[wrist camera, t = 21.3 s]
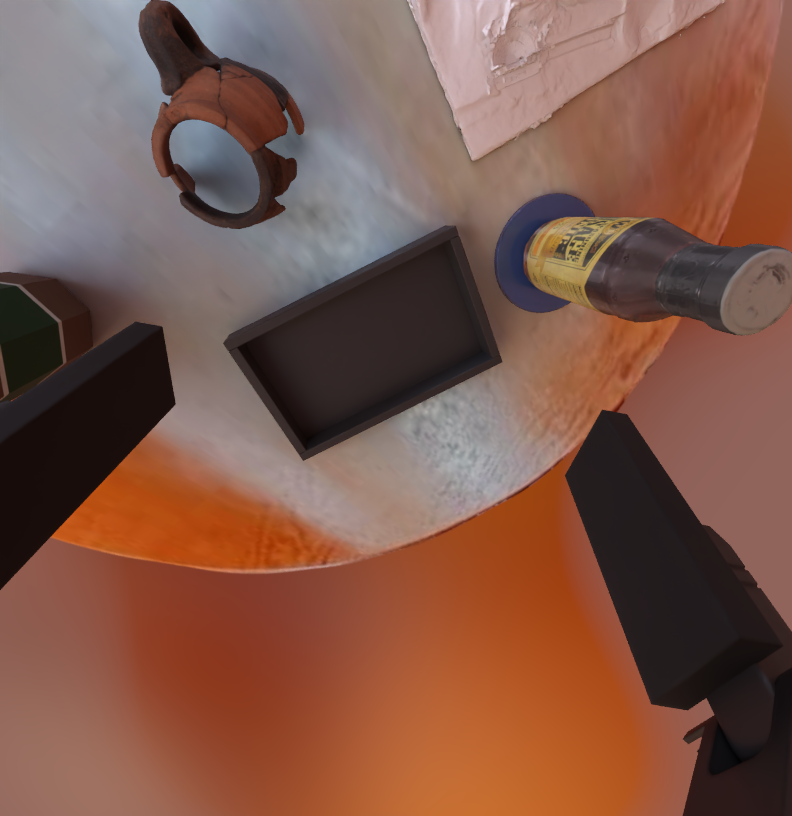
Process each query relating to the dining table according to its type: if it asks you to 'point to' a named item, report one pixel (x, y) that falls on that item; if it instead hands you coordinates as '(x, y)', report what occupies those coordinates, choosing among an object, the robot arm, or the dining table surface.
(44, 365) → the beer bottle
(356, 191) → the dining table surface
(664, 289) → the sauce bottle
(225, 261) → the dining table surface
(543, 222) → the coaster
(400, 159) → the dining table surface
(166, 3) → the brown broken pot
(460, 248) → the tray
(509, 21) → the terrain model
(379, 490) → the dining table surface
